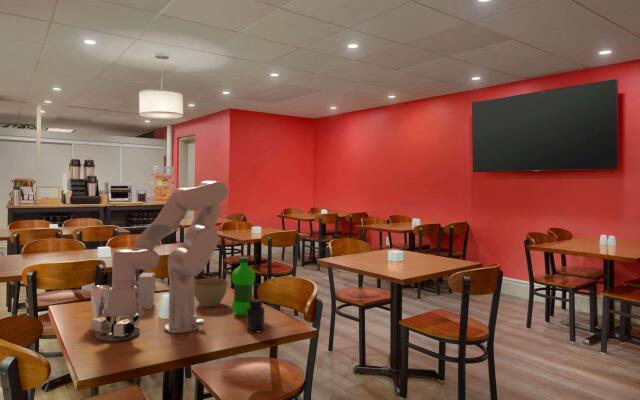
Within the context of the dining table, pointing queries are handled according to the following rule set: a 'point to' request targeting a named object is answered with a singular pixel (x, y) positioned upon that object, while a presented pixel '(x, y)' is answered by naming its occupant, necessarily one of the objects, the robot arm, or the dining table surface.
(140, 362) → the dining table surface
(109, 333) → the tribrach plate
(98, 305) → the beer glass
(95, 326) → the white block
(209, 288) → the planter bowl
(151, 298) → the skincare box
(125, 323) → the knob
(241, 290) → the plastic bottle
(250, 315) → the supplement bottle
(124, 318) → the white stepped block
